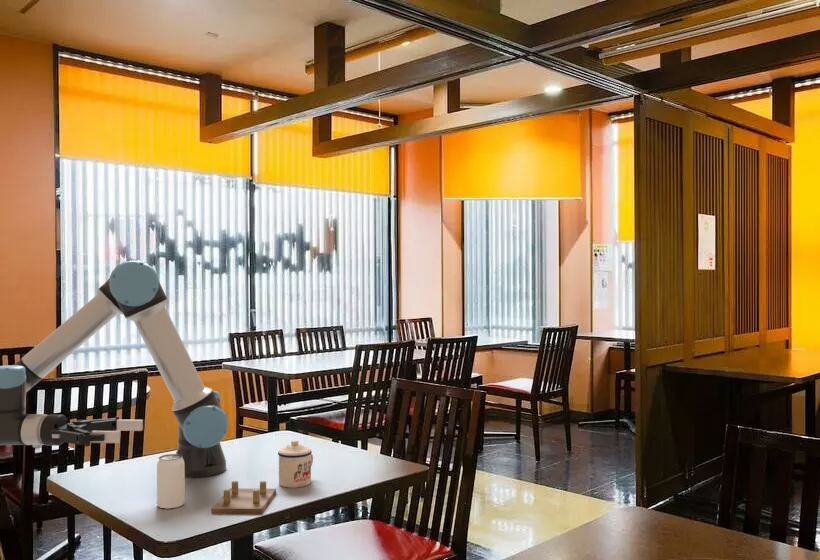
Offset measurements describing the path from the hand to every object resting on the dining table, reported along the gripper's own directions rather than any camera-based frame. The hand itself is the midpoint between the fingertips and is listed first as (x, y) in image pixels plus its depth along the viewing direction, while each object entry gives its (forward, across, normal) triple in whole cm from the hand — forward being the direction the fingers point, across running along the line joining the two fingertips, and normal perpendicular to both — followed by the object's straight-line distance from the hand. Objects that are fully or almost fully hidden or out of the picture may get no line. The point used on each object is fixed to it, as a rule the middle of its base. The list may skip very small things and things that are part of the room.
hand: (131, 431), depth 172 cm
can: (+10, 0, -18) cm, 21 cm away
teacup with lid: (+38, -20, -18) cm, 47 cm away
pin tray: (+28, -2, -18) cm, 33 cm away
